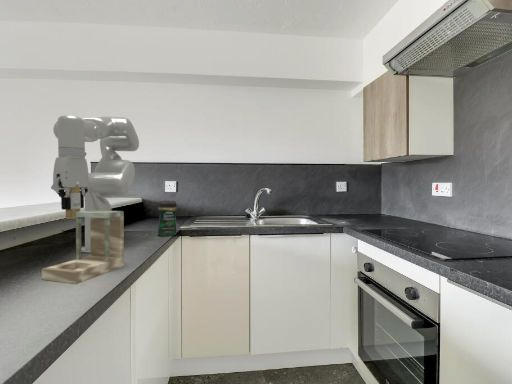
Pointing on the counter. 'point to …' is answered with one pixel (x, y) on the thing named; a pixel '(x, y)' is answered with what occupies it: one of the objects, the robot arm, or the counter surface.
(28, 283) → the counter surface
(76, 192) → the sprinkles bottle
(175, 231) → the coffee jar
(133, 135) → the robot arm
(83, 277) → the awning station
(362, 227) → the counter surface
